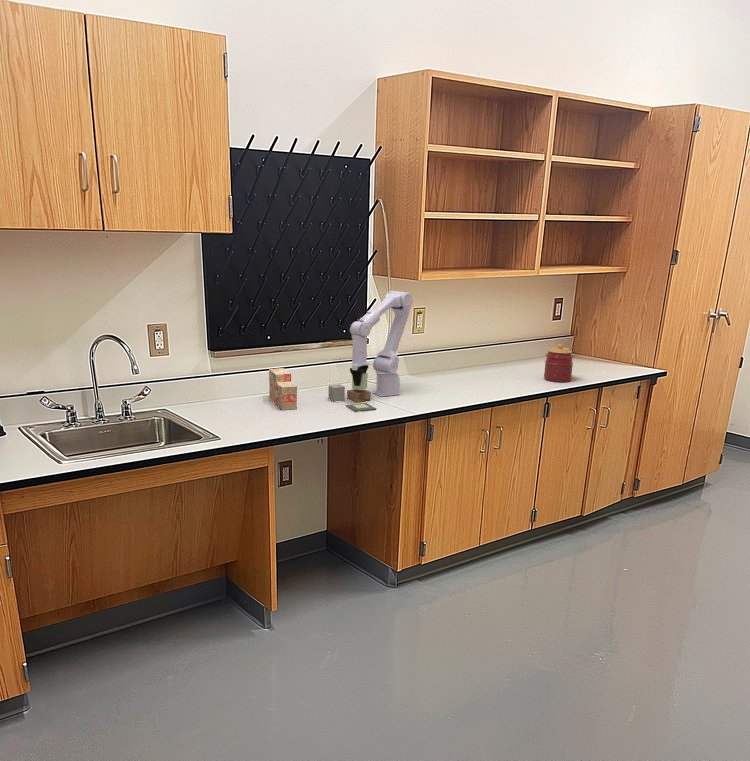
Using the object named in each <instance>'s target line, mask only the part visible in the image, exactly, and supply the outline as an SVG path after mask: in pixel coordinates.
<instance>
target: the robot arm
mask: <svg viewBox="0 0 750 761" xmlns="http://www.w3.org/2000/svg"><path fill="white" fill-rule="evenodd" d="M413 302H414V299H413V297H412V294H411V293H410V292H408V291H397V290H389V291H388V292H387V293H386V294H385V296H384V299H383V300H381V302H380V303H379V304H378V305H377V307H375V308H374V310H373V309H371V310H367V311H366V313H365V314H364V315H363V316H362V317H360V318H359V320H357V321H354V322H352V324H351V325H350V328H349V333H350V334H351V340H352V357H351V358H352V361H351V364H352V365H351V368H349V372H350V373H351V376H352V377H353V381H354V385H355V386H360V383H361V377H362V374H363V373H367V371H368V369H369V366H370V362H368V360H367V357H368V356H367V354H368V336H369V335H370V334H371V330H372V329H373V327H374V326H376V325H377V324H378V323H379V322H380V320H381V316H383V315H384V314H385V313H386V312H388V311H389V310H390V309H391V311H392V312H393V313H394V318H393V320H392V323H391V326H390V328H389V329H390V330H389V331H388V335H387V339H386V341H385V345H384V347H383V349H382V350H380V351H378V352H377V355H376V357H375V358H374V359H373V362H372V368H373V370H374V371H375V374H376V388H375V389H376V390H373V391H372V393H373V394H374V395H377V396H379V397H389V396H398V395H401V393H400V382H401V379H400V376H399V374H398V373H397V371H398V369H399V362H400V358H399V356H398V355H397V351H398V348H399V345H400V343H401V339H402V336H403V333H404V330H405V328H406V325H407V321H408V319H409V315H410V312H411V311H410V310H411V307H412V305H413Z"/></svg>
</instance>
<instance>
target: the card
mask: <svg viewBox="0 0 750 761" xmlns="http://www.w3.org/2000/svg"><path fill="white" fill-rule="evenodd" d="M345 407H346V408H347V407H348V409H349V410H351V411H352V410H353V411H352V412H354V411H355V412H354V413H358V412H357V411H362V412H369V411H368V410H371V411H377V408H376V407H375V406H373V405H371V404H369V403H367V402H360V403H353V404H345Z"/></svg>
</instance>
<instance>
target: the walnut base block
mask: <svg viewBox="0 0 750 761" xmlns="http://www.w3.org/2000/svg"><path fill="white" fill-rule="evenodd" d="M346 391H347V392H346V400H348V399H349V400H348V401H350V400H351V402H352V401H353V402H352V403H354V404H359V403H367V402H371V400H372V399H371V395H372V394H371V392H372V391H369V390H366V389H365V390H357V389H348V390H346ZM366 401H367V402H366ZM358 402H359V403H358Z"/></svg>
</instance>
